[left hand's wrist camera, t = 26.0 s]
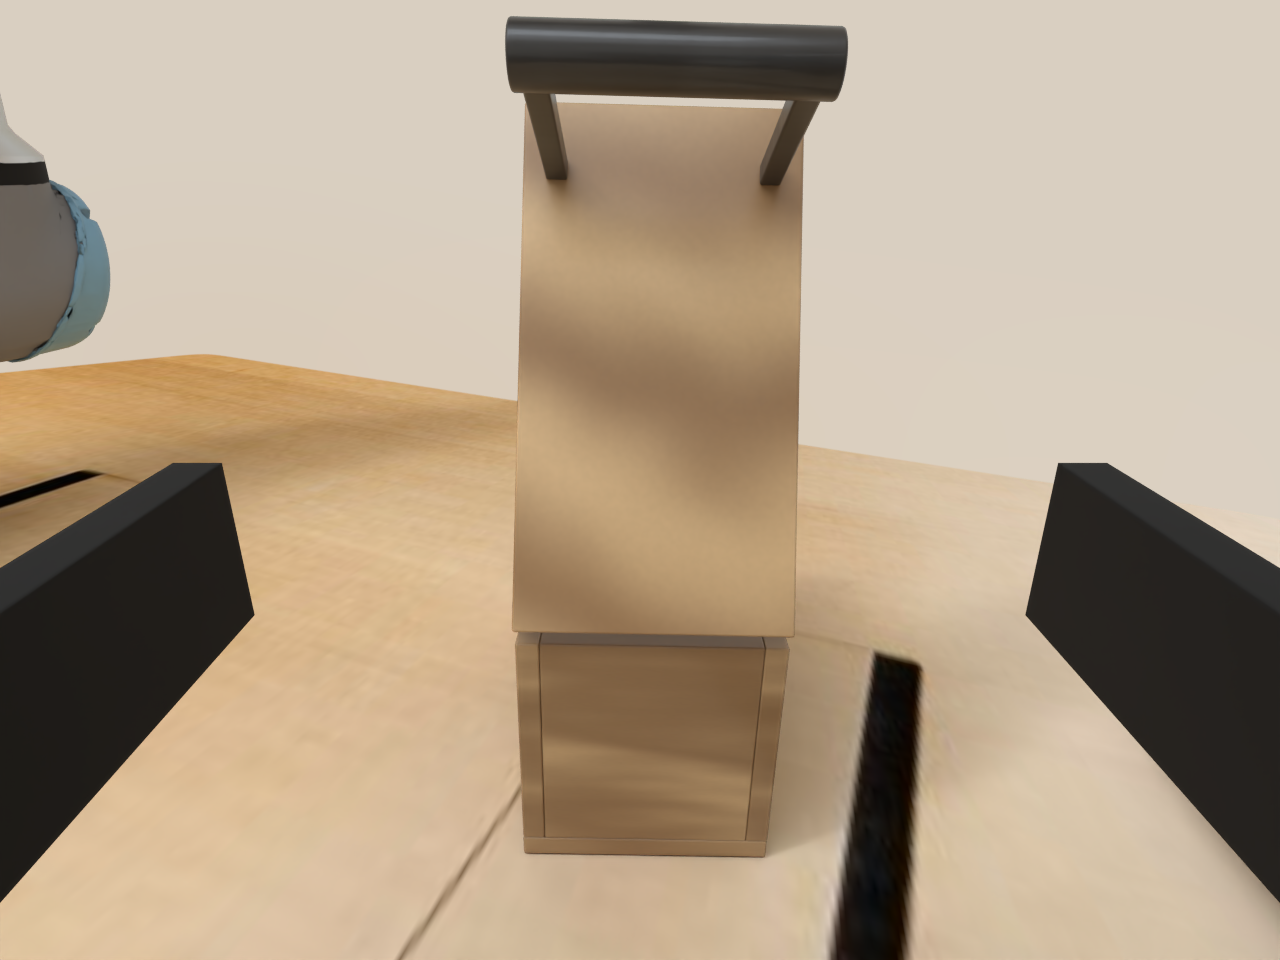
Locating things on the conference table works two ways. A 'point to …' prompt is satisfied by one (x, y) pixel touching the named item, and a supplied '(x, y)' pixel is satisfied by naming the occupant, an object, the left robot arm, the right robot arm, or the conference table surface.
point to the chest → (648, 742)
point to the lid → (661, 323)
